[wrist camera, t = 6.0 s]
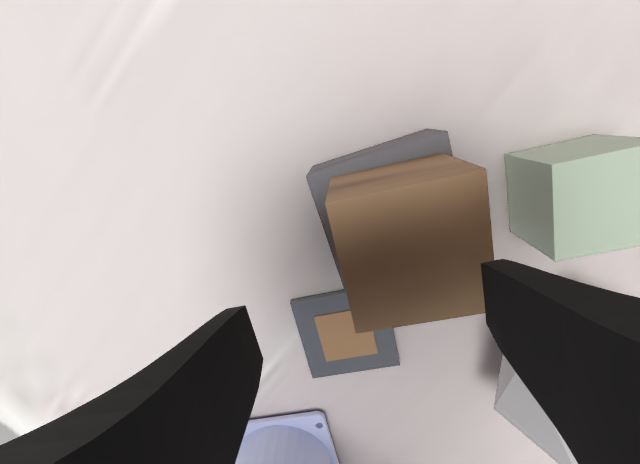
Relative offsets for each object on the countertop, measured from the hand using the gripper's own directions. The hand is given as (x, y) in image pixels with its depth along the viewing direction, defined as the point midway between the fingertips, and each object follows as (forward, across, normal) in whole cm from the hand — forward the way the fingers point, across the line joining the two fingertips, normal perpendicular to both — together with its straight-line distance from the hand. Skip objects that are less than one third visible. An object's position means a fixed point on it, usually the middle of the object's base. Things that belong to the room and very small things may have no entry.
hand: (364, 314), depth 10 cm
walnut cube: (+7, -2, -1) cm, 7 cm away
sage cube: (+10, -11, 0) cm, 15 cm away
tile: (+10, +2, +8) cm, 13 cm away
